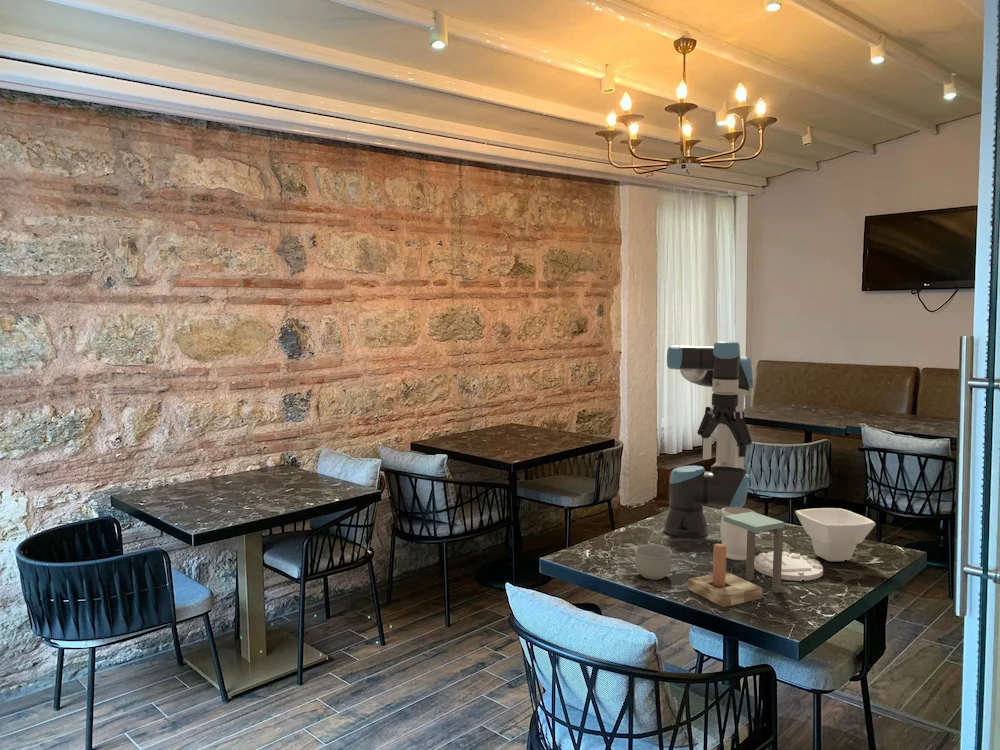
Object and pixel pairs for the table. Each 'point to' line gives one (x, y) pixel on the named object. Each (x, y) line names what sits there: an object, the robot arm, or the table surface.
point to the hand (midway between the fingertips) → (722, 463)
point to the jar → (734, 535)
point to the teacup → (651, 560)
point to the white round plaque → (790, 566)
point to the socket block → (725, 590)
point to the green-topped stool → (753, 525)
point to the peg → (719, 565)
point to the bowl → (834, 531)
